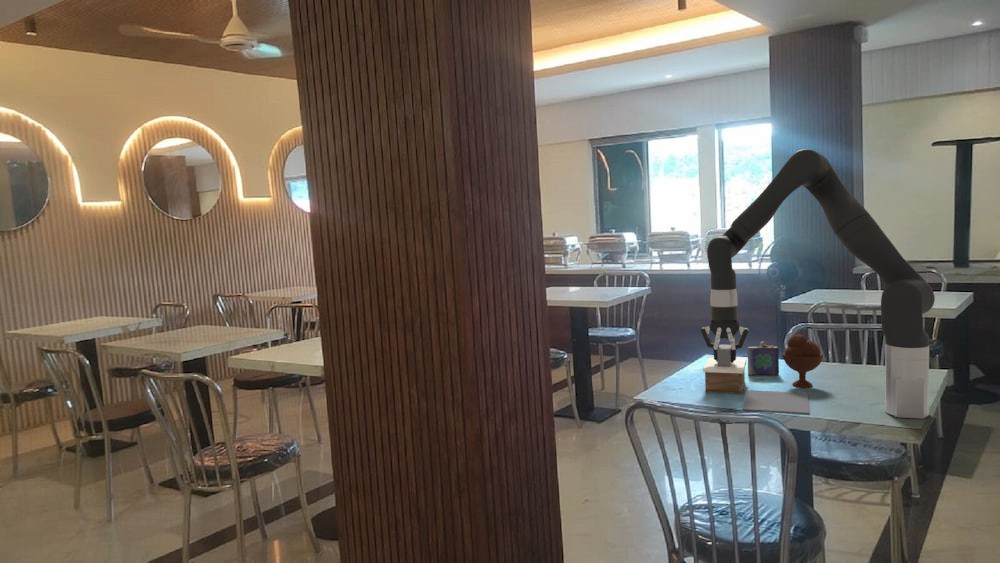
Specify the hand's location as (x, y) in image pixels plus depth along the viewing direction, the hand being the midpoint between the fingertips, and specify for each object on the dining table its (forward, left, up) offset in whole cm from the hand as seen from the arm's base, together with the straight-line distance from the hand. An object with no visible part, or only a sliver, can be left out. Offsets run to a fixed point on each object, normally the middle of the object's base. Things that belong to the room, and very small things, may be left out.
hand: (725, 361), depth 200 cm
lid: (0, 0, -3) cm, 3 cm away
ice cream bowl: (+6, -21, -8) cm, 23 cm away
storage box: (0, 0, -8) cm, 8 cm away
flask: (+18, -10, -8) cm, 22 cm away
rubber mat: (-14, -14, -8) cm, 21 cm away
